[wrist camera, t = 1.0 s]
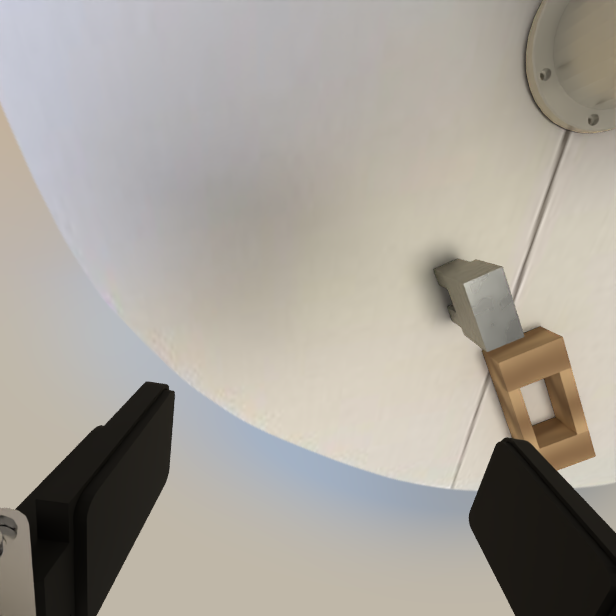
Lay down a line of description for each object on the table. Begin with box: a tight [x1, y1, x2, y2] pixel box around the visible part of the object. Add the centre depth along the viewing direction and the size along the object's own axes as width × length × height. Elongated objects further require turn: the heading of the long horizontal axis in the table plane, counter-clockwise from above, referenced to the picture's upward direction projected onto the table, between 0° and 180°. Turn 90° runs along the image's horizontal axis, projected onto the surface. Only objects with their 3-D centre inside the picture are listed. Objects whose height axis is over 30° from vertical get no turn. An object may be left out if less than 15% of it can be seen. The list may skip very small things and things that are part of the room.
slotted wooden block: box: [482, 326, 596, 471], centre depth 34 cm, size 14×6×3 cm, turn 25°
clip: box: [434, 259, 524, 352], centre depth 29 cm, size 6×3×7 cm, turn 25°
